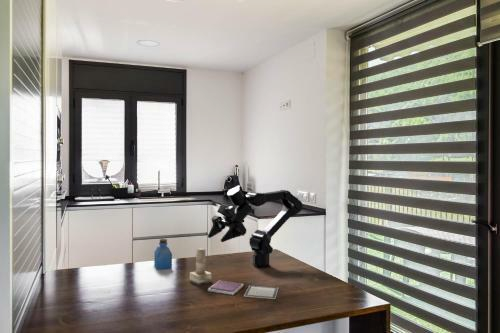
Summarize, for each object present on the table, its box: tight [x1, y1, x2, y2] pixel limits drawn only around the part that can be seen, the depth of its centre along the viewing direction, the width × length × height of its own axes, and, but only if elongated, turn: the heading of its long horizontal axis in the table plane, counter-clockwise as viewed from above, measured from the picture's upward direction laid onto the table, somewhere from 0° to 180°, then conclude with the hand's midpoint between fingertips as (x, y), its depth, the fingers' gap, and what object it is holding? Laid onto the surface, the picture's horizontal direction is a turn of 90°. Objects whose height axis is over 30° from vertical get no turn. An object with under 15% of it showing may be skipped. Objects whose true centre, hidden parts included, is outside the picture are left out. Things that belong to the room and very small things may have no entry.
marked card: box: [243, 285, 279, 300], centre depth 139 cm, size 11×11×1 cm
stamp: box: [189, 248, 212, 286], centre depth 149 cm, size 6×6×12 cm
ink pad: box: [207, 280, 245, 296], centre depth 142 cm, size 10×10×1 cm
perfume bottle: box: [153, 238, 173, 271], centre depth 167 cm, size 6×6×12 cm
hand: (214, 239), depth 156 cm, fingers open, 9 cm apart
